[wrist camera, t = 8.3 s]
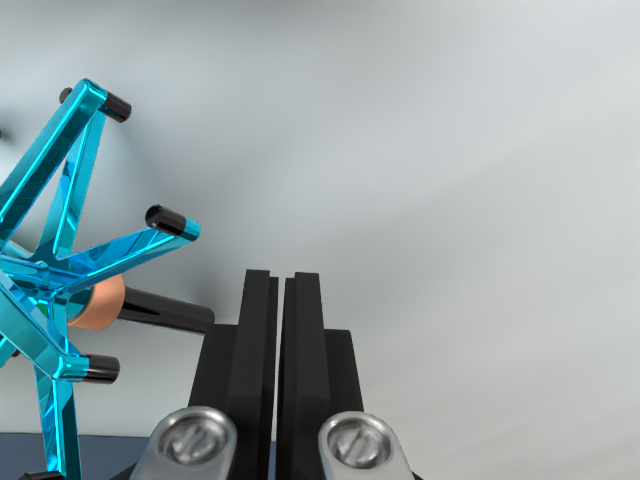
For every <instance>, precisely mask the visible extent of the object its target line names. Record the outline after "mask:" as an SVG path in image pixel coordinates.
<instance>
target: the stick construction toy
mask: <svg viewBox="0 0 640 480" xmlns="http://www.w3.org/2000/svg"><path fill="white" fill-rule="evenodd" d="M59 100H60V103H61V104H62V105H61V106H60V107H59V109H58V110H57V111H56V113H55V114H54V115H53V117H52V118H51V119H50V121H49V122H48V124H47V125H46V126H45V128H44V129H43V130H42V132H41V133H40V134H39V136H38V137H37V138H36V140H35V141H34V142H33V144H32V145H31V146H30V148H29V149H28V150H27V152H26V153H25V154H24V156H23V157H22V158H21V160H20V161H19V163H18V164H17V165H16V167H15V168H14V169H13V171H12V172H11V173H10V175H9V176H8V177H7V179H6V180H5V181H4V183H3V184H2V185H1V187H0V369H1V368H2V367H3V365H4V364H5V363H6V362H7V360H8V359H9V358H10V357H17V356H18V355H19V354H20V353H22V354H23V355H24V356H25V357H27V358H28V359H29V360H30V361H31V362H32V363H33V364H34V372H35V379H36V387H37V395H38V403H39V410H40V418H41V426H42V433H43V441H44V449H45V457H46V464H47V471H41V472H29V473H24V474H22V475H21V477H20V478H19V479H18V480H82V472H81V462H80V451H79V441H78V430H77V420H76V409H75V399H74V388H73V382H79V383H95V384H112V383H113V382H114V381H115V380H116V379H117V377H118V375H119V373H120V364H119V361H118V359H117V358H115V357H109V356H101V355H93V354H84V353H80V351H79V350H78V349H77V348H76V347H75V346H74V345H73V344H72V343H71V342H70V341H69V335H68V326H73V327H80V328H86V329H92V330H102V329H104V328H106V327H108V326H109V325H110V324H111V323H112V322H113V321H114V320H115V319H117V320H122V321H127V322H133V323H138V324H143V325H148V326H154V327H159V328H164V329H169V330H175V331H180V332H185V333H190V334H196V335H201V336H203V335H205V332H206V328H207V325H208V324H214V322H215V316H214V313H213V311H212V310H211V309H210V308H207V307H203V306H199V305H195V304H191V303H188V302H184V301H180V300H176V299H172V298H168V297H164V296H160V295H157V294H153V293H149V292H145V291H141V290H137V289H133V288H129V287H126V286H125V283H124V280H123V277H122V275H121V273H123V272H125V271H128V270H130V269H132V268H134V267H137V266H139V265H141V264H144V263H146V262H148V261H150V260H153V259H155V258H157V257H160V256H162V255H164V254H166V253H169V252H171V251H173V250H175V249H178V248H180V247H182V246H185V245H187V244H189V243H191V242H194V241H195V240H196V239H198V237H199V235H200V233H201V226H200V224H199V223H198V222H197V221H195V220H193V219H190V218H188V217H186V216H184V215H181V214H179V213H177V212H175V211H172V210H170V209H168V208H166V207H163V206H161V205H159V204H156V205H153V206H152V207H150V208H149V210H148V211H147V213H146V216H145V221H146V225H147V226H148V228H145V229H142V230H140V231H137V232H134V233H131V234H128V235H125V236H123V237H120V238H117V239H114V240H111V241H108V242H105V243H103V244H100V245H97V246H94V247H91V248H88V249H86V250H83V251H80V252H77V253H74V254H71V252H72V248H73V244H74V240H75V236H76V232H77V228H78V225H79V221H80V217H81V213H82V209H83V205H84V201H85V197H86V193H87V189H88V185H89V182H90V178H91V174H92V170H93V166H94V162H95V158H96V154H97V150H98V146H99V142H100V139H101V135H102V131H103V127H104V123H105V119H106V116H108V117H110V118H112V119H113V120H115V121H117V122H119V123H122V122H125V121H126V120H127V119H128V118H129V117H130V115H131V112H132V109H131V105H130V104H129V103H127V102H126V101H124V100H123V99H121V98H119V97H118V96H116V95H114V94H113V93H111V92H110V91H108V90H106V89H105V88H103V87H101V86H100V85H98V84H96V83H95V82H93V81H92V80H90V79H88V78H84V79H82V80H80V81H79V82H78V83H77V85H76V86H75V87H74V89H72V88H70V87H69V88H65V89H64V90H63V91H62V92H61V94H60V98H59ZM0 138H1V131H0ZM68 152H69V153H68ZM67 154H68V156H67V159H66V162H65V165H64V168H63V171H62V174H61V177H60V180H59V183H58V186H57V189H56V192H55V195H54V198H53V202H52V205H51V208H50V211H49V214H48V217H47V220H46V223H45V226H44V229H43V232H42V235H41V238H40V241H39V244H38V246H37V249H36V250H35V252H34V253H33V254H32V253H31V252H29V251H28V250H26V249H24V248H23V247H21V246H20V245H18V244H16V243H15V242H13V241H12V240H10V238H11V236H12V235H13V233H14V232H15V231H16V229H17V228H18V226H19V225H20V223H21V222H22V220H23V219H24V217H25V216H26V214H27V213H28V211H29V210H30V208H31V207H32V205H33V204H34V202H35V201H36V200H37V198H38V197H39V195H40V194H41V192H42V191H43V189H44V188H45V186H46V185H47V183H48V182H49V180H50V179H51V177H52V176H53V174H54V173H55V172H56V170H57V169H58V167H59V166H60V164H61V163H62V161H63V160H64V158H65V157H66V155H67Z"/></svg>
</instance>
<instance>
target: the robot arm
mask: <svg viewBox="0 0 640 480" xmlns="http://www.w3.org/2000/svg"><path fill="white" fill-rule="evenodd" d="M278 283H279V277H270V271H269V270H251V269H247V270H246V276H245V283H244V289H243V296H242V303H241V309H240V316H239V323H238V325H230V324H208V325H207V328H206V332H205V336H204V340H203V344H202V349H201V353H200V357H199V361H198V365H197V370H196V374H195V378H194V382H193V386H192V391H191V395H190V399H189V403H188V407H187V408H182V409H180V410H178V411H175V412H173V413H171V414H169V415H168V416H167V417H165V418H164V419H163V420H161V421H160V422H159V424H158V425H157V427H156V428H155V429H154V431H153V432H152V434H151V436H150V438H149V440H148V442H147V444H146V446H145V448H144V450H143V452H142V454H141V456H140V458H139V460H138V462H136V463H135V464H133V465H131V466H130V467H128V468H127V469H125V470H124V471H122V472H120V473H119V474H117V475H116V476H114V477H112V478H111V479H109V480H268V472H269V459H270V445H271V432H272V419H273V405H274V388H275V362H276V336H277V310H278ZM275 480H423V479H422V478H421V477H419V476H418V475H416V474H415V473H414V472H412V471H411V469H410V467H409V465H408V462H407V460H406V457H405V455H404V452H403V450H402V448H401V445H400V443H399V440H398V438H397V436H396V435H395V433H394V432H393V430H392V428H391V427H389V426H388V425H387V424H386V423H385V422H384V421H383V420H381V419H379V418H377V417H375V416H374V415H371V414H368V413H364V408H363V402H362V396H361V391H360V385H359V379H358V373H357V367H356V361H355V355H354V349H353V343H352V337H351V333H350V331H349V330H336V329H324V324H323V314H322V303H321V293H320V282H319V274H318V273H304V272H295V278H286V281H285V293H284V306H283V319H282V332H281V345H280V358H279V371H278V396H277V429H276V462H275Z"/></svg>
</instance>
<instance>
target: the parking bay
mask: <svg viewBox="0 0 640 480" xmlns="http://www.w3.org/2000/svg"><path fill="white" fill-rule="evenodd" d="M148 440H149V438H131V437H102V436H78V441H79V451H80V462H81V472H82V480H109V479H111V478H112V477H114V476H116V475H117V474H119V473H120V472H122V471H124V470H125V469H127V468H128V467H130V466H131V465H133V464H135V463H136V462H138V460H139V458H140V456H141V454H142V452H143V450H144V448H145V446H146V444H147V442H148ZM275 462H276V442H271V445H270V459H269V472H268V480H275ZM41 471H47V464H46V457H45V449H44V441H43V434H13V433H0V480H18V479H19V478H20V477H21V475H22V474H24V473H29V472H41Z"/></svg>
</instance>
